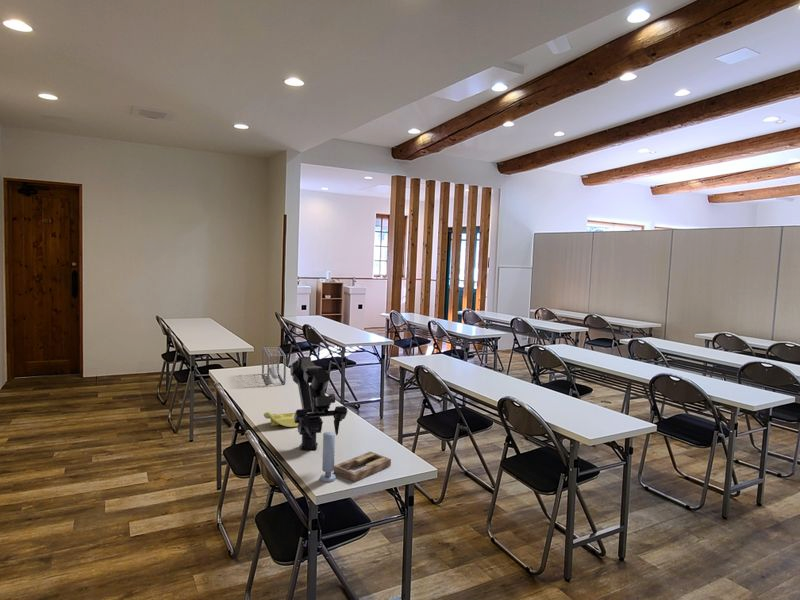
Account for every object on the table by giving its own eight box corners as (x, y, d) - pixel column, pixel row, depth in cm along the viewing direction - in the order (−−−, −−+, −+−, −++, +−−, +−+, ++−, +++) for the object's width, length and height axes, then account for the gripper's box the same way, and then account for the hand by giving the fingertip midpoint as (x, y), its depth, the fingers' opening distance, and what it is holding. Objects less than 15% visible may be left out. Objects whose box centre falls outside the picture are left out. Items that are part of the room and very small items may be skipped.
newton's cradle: (285, 385, 297) (286, 355, 296) (267, 386, 294) (267, 355, 292) (278, 373, 325) (279, 346, 324) (261, 374, 322) (262, 346, 320)
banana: (301, 412, 240) (310, 408, 233) (302, 428, 238) (311, 424, 230) (260, 415, 229) (268, 411, 221) (261, 432, 227) (269, 428, 219)
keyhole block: (354, 482, 174) (354, 474, 174) (333, 472, 181) (333, 465, 180) (390, 465, 189) (391, 459, 188) (370, 458, 195) (370, 451, 195)
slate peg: (320, 475, 178) (322, 431, 177) (335, 475, 179) (337, 431, 177) (319, 482, 173) (321, 436, 172) (335, 482, 173) (336, 436, 172)
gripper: (296, 387, 181) (301, 428, 171) (346, 384, 188) (354, 423, 178) (291, 403, 188) (296, 442, 179) (340, 399, 196) (347, 437, 186)
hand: (324, 436), depth 181 cm, fingers open, 9 cm apart
